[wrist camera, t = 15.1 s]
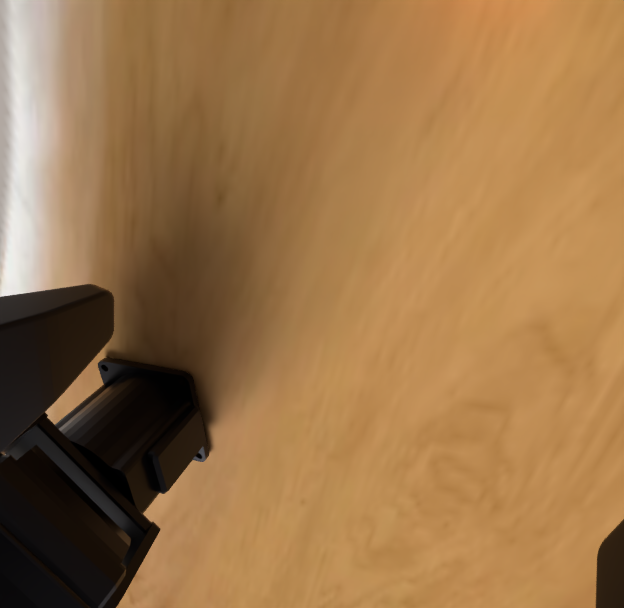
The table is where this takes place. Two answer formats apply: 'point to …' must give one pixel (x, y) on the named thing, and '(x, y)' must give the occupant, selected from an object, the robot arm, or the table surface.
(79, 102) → the table surface
